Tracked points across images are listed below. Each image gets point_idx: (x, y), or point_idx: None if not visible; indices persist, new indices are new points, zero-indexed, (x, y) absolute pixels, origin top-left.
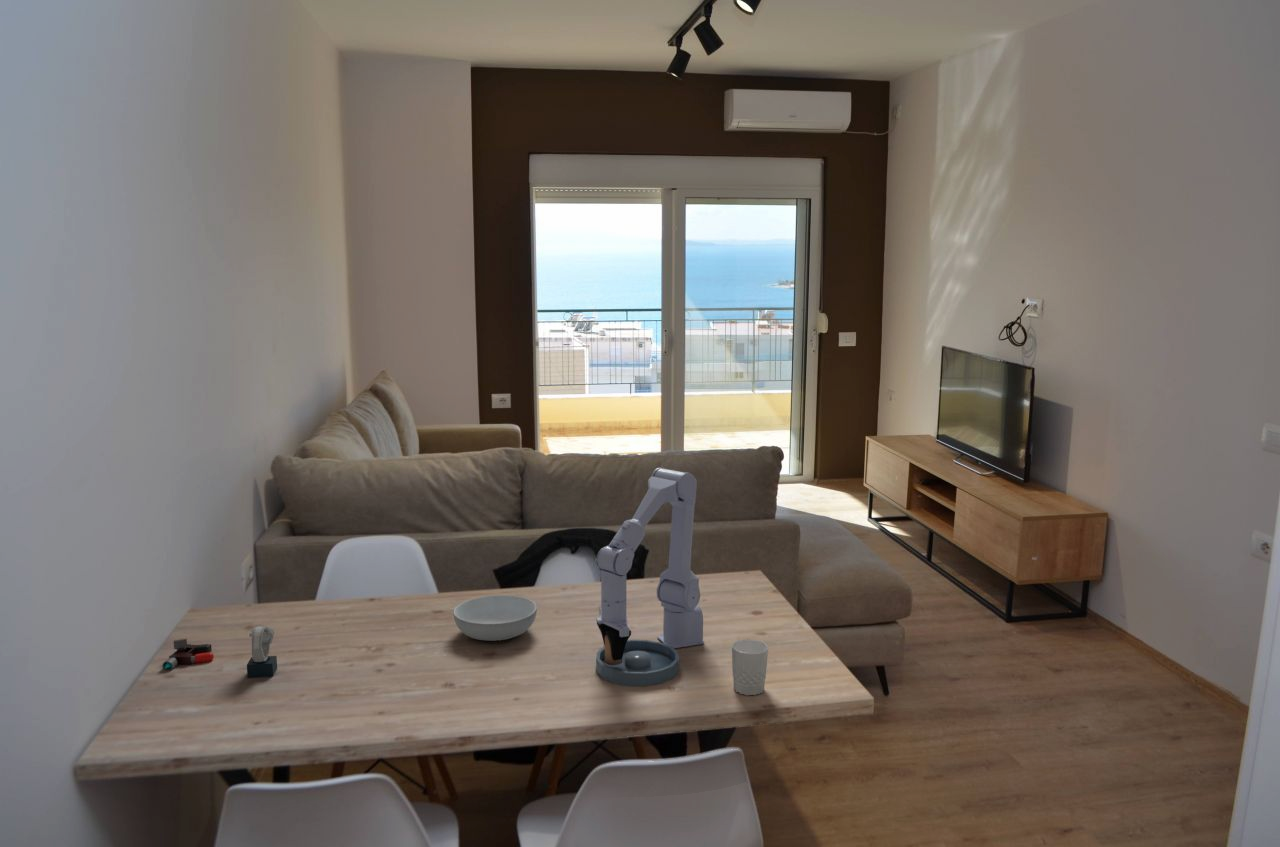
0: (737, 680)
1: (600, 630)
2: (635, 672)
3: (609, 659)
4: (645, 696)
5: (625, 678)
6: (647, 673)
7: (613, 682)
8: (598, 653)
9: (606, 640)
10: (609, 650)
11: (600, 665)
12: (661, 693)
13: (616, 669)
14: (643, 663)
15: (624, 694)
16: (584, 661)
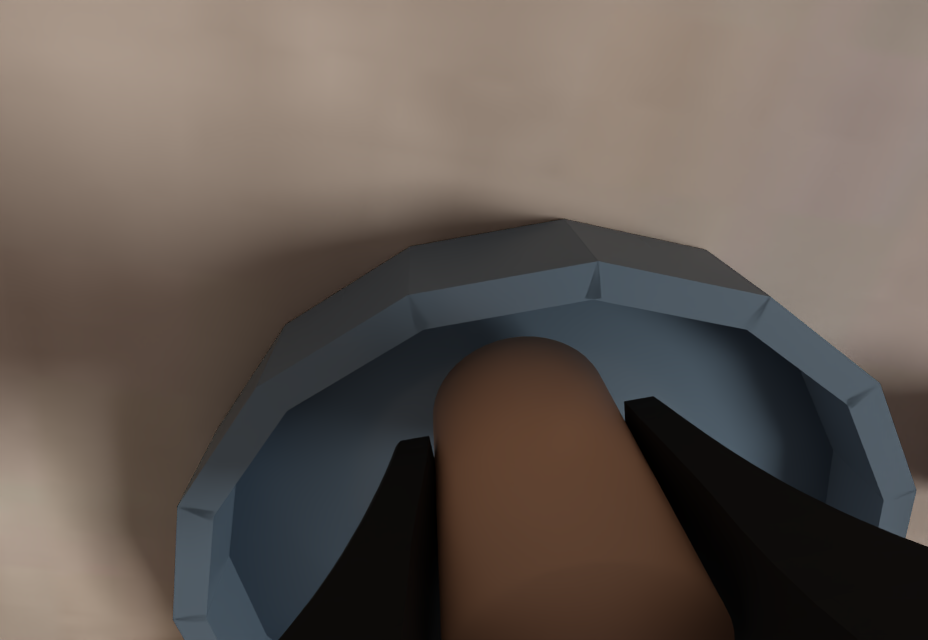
0: None
1: (879, 550)
2: (194, 560)
3: (455, 402)
4: (31, 511)
5: (210, 449)
6: (180, 630)
7: (281, 332)
8: (729, 305)
9: (526, 550)
10: (460, 475)
11: (443, 281)
12: (92, 600)
13: (273, 423)
14: None
15: (53, 382)
16: (816, 139)
